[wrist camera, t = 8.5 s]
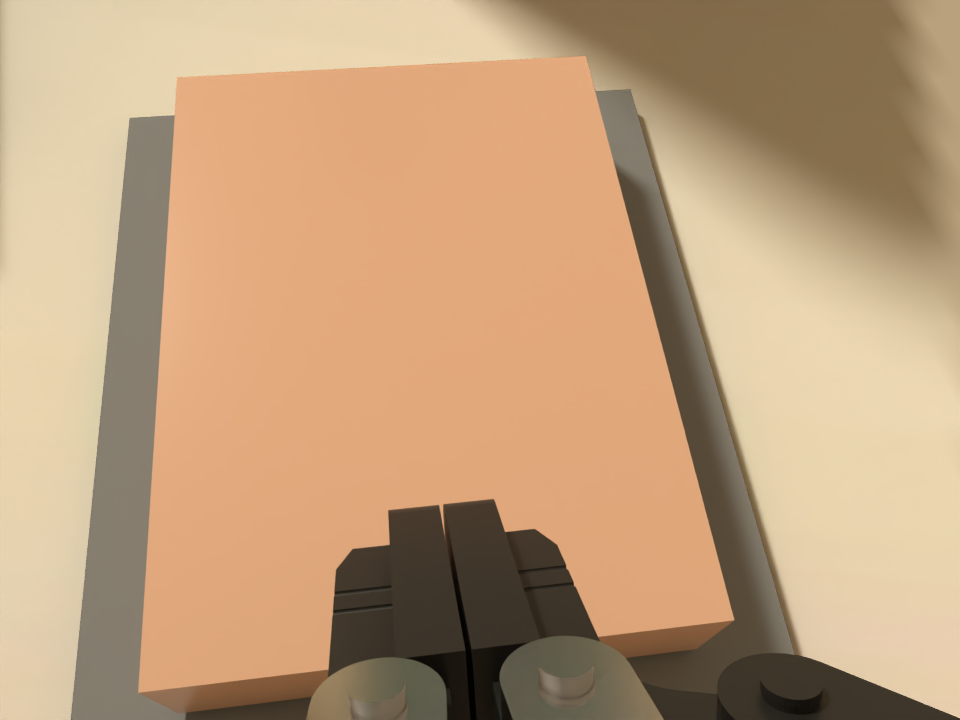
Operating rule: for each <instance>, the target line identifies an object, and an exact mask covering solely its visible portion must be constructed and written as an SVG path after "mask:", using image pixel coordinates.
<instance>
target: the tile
mask: <svg viewBox="0 0 960 720" xmlns="http://www.w3.org/2000/svg"><path fill="white" fill-rule="evenodd" d="M487 499H494V500H495V503H496V506H497V509H498V512H499V515H500V518H501V521H502V524H503V527H504V530H505V532H510V531H519V530H528V529H536V530H537V531H539V532H540V533H541V534H543V535H544V536H546V537H547V538H549V539H550V540H551V541H553V542H554V543H556V544H557V545H558V548H559V550H560V552H561V554H562V557H563V559H564V561H565V563H566V568H567V569H568V570H569V572H570V575H571V577H572V579H573V581H574V587H575V586H576V588H577V591H578V593H579V595H580V597H581V600H582V602H583V604H584V606H585V609H586V611H587V613H588V615H589V618H590V620H591V622H592V624H593V627H594V629H595V631H596V634H597V636H598V638H599V640H600V642H602V643H604V644H606V645H609V646H611V647H612V648H614V649H615V650H617V651H618V652H620V653H621V654H622V655H623V656H624V657H625V658H629V657H637V656H646V655H654V654H662V653H670V652H678V651H686V650H694V649H697V648H699V647H700V646H701V645H703V644H704V643H705V642H707V641H708V640H709V639H710V638H712V637H713V636H714V635H716V634H717V633H718V632H720V631H721V630H722V629H724V628H725V627H726V626H728V625H729V624H730V623H732V622H733V621H734V617H733V613H732V609H731V606H730V602H729V598H728V594H727V590H726V587H725V583H724V579H723V575H722V571H721V568H720V564H719V560H718V556H717V552H716V549H715V545H714V541H713V537H712V533H711V530H710V526H709V522H708V518H707V514H706V511H705V507H704V503H703V499H702V495H701V492H700V488H699V484H698V480H697V476H696V473H695V469H694V465H693V461H692V457H691V454H690V450H689V446H688V442H687V438H686V435H685V431H684V427H683V423H682V420H681V416H680V412H679V408H678V404H677V401H676V397H675V393H674V389H673V385H672V382H671V378H670V374H669V370H668V366H667V363H666V359H665V355H664V351H663V347H662V344H661V340H660V336H659V332H658V328H657V325H656V321H655V317H654V313H653V309H652V306H651V302H650V298H649V294H648V290H647V287H646V283H645V279H644V275H643V271H642V268H641V264H640V260H639V256H638V253H637V249H636V245H635V241H634V237H633V234H632V230H631V226H630V222H629V218H628V215H627V211H626V207H625V203H624V199H623V196H622V192H621V188H620V184H619V180H618V177H617V173H616V169H615V165H614V161H613V158H612V154H611V150H610V146H609V142H608V139H607V135H606V131H605V127H604V123H603V120H602V116H601V112H600V108H599V104H598V101H597V97H596V93H595V89H594V85H593V82H592V78H591V74H590V70H589V67H588V63H587V59H586V56H576V57H557V58H538V59H520V60H501V61H482V62H463V63H444V64H425V65H406V66H387V67H368V68H349V69H330V70H311V71H292V72H273V73H254V74H235V75H217V76H198V77H179V78H177V88H176V104H175V120H174V136H173V151H172V167H171V183H170V199H169V214H168V230H167V246H166V262H165V277H164V293H163V309H162V325H161V340H160V356H159V372H158V388H157V404H156V419H155V435H154V451H153V467H152V482H151V498H150V514H149V530H148V545H147V561H146V577H145V593H144V608H143V624H142V640H141V656H140V671H139V687H138V693H140V694H142V695H143V696H145V697H147V698H149V699H151V700H153V701H155V702H157V703H159V704H161V705H163V706H165V707H167V708H169V709H170V710H172V711H174V712H176V713H178V714H179V713H187V712H195V711H203V710H211V709H219V708H227V707H235V706H243V705H251V704H259V703H268V702H276V701H284V700H292V699H300V698H308V697H312V696H313V694H314V693H315V691H316V690H317V688H318V687H319V686H320V685H321V684H322V683H323V682H324V681H325V680H326V679H327V678H328V669H329V655H330V642H331V629H332V615H333V602H334V596H335V595H334V589H335V575H336V569H337V568H338V566H339V565H340V564H341V563H342V562H343V560H344V559H345V558H346V557H347V555H348V554H349V553H350V552H351V550H352V549H356V548H365V547H375V546H384V545H390V541H389V520H388V510H394V509H404V508H413V507H422V506H432V505H439V507H440V513H441V518H442V524H443V529H444V519H443V504H449V503H459V502H468V501H478V500H487ZM444 535H445V533H444Z"/></svg>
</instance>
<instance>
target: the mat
mask: <svg viewBox="0 0 960 720" xmlns="http://www.w3.org/2000/svg"><path fill="white" fill-rule="evenodd" d="M595 93H596V97H597V101H598V104H599V108H600V112H601V116H602V120H603V123H604V127H605V131H606V135H607V139H608V142H609V146H610V150H611V154H612V158H613V161H614V165H615V169H616V173H617V177H618V180H619V184H620V188H621V192H622V196H623V199H624V203H625V207H626V211H627V215H628V218H629V222H630V226H631V230H632V234H633V237H634V241H635V245H636V249H637V253H638V256H639V260H640V264H641V268H642V271H643V275H644V279H645V283H646V287H647V290H648V294H649V298H650V302H651V306H652V309H653V313H654V317H655V321H656V325H657V328H658V332H659V336H660V340H661V344H662V347H663V351H664V355H665V359H666V363H667V366H668V370H669V374H670V378H671V382H672V385H673V389H674V393H675V397H676V401H677V404H678V408H679V412H680V416H681V420H682V423H683V427H684V431H685V435H686V438H687V442H688V446H689V450H690V454H691V457H692V461H693V465H694V469H695V473H696V476H697V480H698V484H699V488H700V492H701V495H702V499H703V503H704V507H705V511H706V514H707V518H708V522H709V526H710V530H711V533H712V537H713V541H714V545H715V549H716V552H717V556H718V560H719V564H720V568H721V571H722V575H723V579H724V583H725V587H726V590H727V594H728V598H729V602H730V606H731V609H732V613H733V617H734V621H733V622H732V623H730V624H729V625H728V626H726V627H725V628H724V629H722V630H721V631H720V632H718V633H717V634H716V635H714V636H713V637H712V638H710V639H709V640H708V641H707V642H705V643H704V644H703V645H701V646H700V647H699V648H697V649H694V650H686V651H678V652H670V653H662V654H654V655H646V656H637V657H629V658H626V659H627V661H628V662H629V663H630V665H631V666H632V668H633V670H634V671H635V673H636V675H637V676H638V678H639V680H640V681H641V682H644V683H647V684H650V685H653V686H657V687H661V688H665V689H672V690H679V691H690V692H701V693H711V694H717V684H718V679H719V677H720V675H721V673H722V672H723V671H724V669H725V668H726V667H727V666H729V665H730V664H731V663H733V662H735V661H737V660H739V659H741V658H744V657H747V656H750V655H756V654H762V653H785V654H792V655H795V654H794V650H793V647H792V643H791V640H790V636H789V633H788V629H787V626H786V623H785V619H784V616H783V612H782V609H781V605H780V602H779V599H778V595H777V592H776V588H775V585H774V581H773V578H772V575H771V571H770V568H769V564H768V561H767V557H766V554H765V551H764V547H763V544H762V540H761V537H760V533H759V530H758V527H757V523H756V520H755V516H754V513H753V509H752V506H751V502H750V499H749V496H748V492H747V489H746V485H745V482H744V478H743V475H742V472H741V468H740V465H739V461H738V458H737V454H736V451H735V448H734V444H733V441H732V437H731V434H730V430H729V427H728V424H727V420H726V417H725V413H724V410H723V406H722V403H721V399H720V396H719V393H718V389H717V386H716V382H715V379H714V375H713V372H712V369H711V365H710V362H709V358H708V355H707V351H706V348H705V345H704V341H703V338H702V334H701V331H700V327H699V324H698V321H697V317H696V314H695V310H694V307H693V303H692V300H691V297H690V293H689V290H688V286H687V283H686V279H685V276H684V272H683V269H682V266H681V262H680V259H679V255H678V252H677V248H676V245H675V242H674V238H673V235H672V231H671V228H670V224H669V221H668V218H667V214H666V211H665V207H664V204H663V200H662V197H661V194H660V190H659V187H658V183H657V180H656V176H655V173H654V169H653V166H652V163H651V159H650V156H649V152H648V149H647V145H646V142H645V139H644V135H643V132H642V128H641V125H640V121H639V118H638V115H637V111H636V108H635V104H634V101H633V97H632V94H631V91H630V89H629V90H612V91H595ZM174 120H175V115H174V116H156V117H139V118H130V120H129V130H128V140H127V151H126V161H125V171H124V181H123V192H122V202H121V212H120V222H119V232H118V243H117V253H116V263H115V273H114V284H113V294H112V304H111V314H110V324H109V335H108V345H107V355H106V365H105V376H104V386H103V396H102V406H101V416H100V427H99V437H98V447H97V457H96V467H95V478H94V488H93V498H92V508H91V519H90V529H89V539H88V549H87V559H86V570H85V580H84V590H83V600H82V611H81V621H80V631H79V641H78V651H77V662H76V672H75V682H74V692H73V703H72V713H71V720H306V718H307V714H308V709H309V704H310V702H311V699H312V697H308V698H300V699H292V700H284V701H276V702H268V703H259V704H251V705H243V706H235V707H227V708H219V709H211V710H203V711H195V712H187V713H179V714H178V713H176V712H174V711H172V710H170V709H169V708H167V707H165V706H163V705H161V704H159V703H157V702H155V701H153V700H151V699H149V698H147V697H145V696H143V695H142V694H140V693H138V687H139V671H140V656H141V640H142V624H143V608H144V593H145V577H146V561H147V545H148V530H149V514H150V498H151V482H152V467H153V451H154V435H155V419H156V404H157V388H158V372H159V356H160V340H161V325H162V309H163V293H164V277H165V262H166V246H167V230H168V214H169V199H170V183H171V167H172V151H173V136H174Z"/></svg>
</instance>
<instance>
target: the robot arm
mask: <svg viewBox="0 0 960 720" xmlns="http://www.w3.org/2000/svg"><path fill="white" fill-rule="evenodd" d="M443 519H444V529H443V524H442V518H441V513H440V507H439V505H432V506H422V507H413V508H404V509H394V510H388V520H389V541H390V545H384V546H375V547H365V548H356V549H352V550H351V552H350V553H349V554H348V555H347V557H346V558H345V559H344V560H343V562H342V563H341V564H340V565H339V566H338V568H337V569H336V575H335V589H334V595H335V596H334V602H333V615H332V629H331V642H330V655H329V669H328V678H327V679H326V680H325V681H324V682H323V683H322V684H321V685H320V686H319V687H318V688H317V690H316V691H315V693H314V694H313V696H312V699H311V702H310V704H309V709H308V714H307V718H306V720H960V718H957V717H955V716H953V715H950V714H948V713H945V712H943V711H940V710H938V709H935V708H933V707H930V706H928V705H925V704H923V703H920V702H918V701H915V700H913V699H911V698H908V697H906V696H903V695H901V694H898V693H896V692H893V691H891V690H888V689H886V688H883V687H881V686H878V685H876V684H874V683H871V682H869V681H866V680H864V679H861V678H859V677H856V676H854V675H851V674H849V673H846V672H844V671H841V670H839V669H836V668H834V667H832V666H829V665H827V664H824V663H822V662H819V661H816V660H813V659H810V658H806V657H802V656H798V655H792V654H785V653H762V654H756V655H750V656H747V657H744V658H741V659H739V660H737V661H735V662H733V663H731V664H730V665H729V666H727V667H726V668H725V669H724V671H723V672H722V673H721V675H720V677H719V679H718V684H717V694H711V693H701V692H690V691H679V690H672V689H665V688H661V687H657V686H653V685H650V684H647V683H644V682H641V681H640V680H639V678H638V676H637V675H636V673H635V671H634V670H633V668H632V666H631V665H630V663H629V662H628V661H627V659H626V658H625V657H624V656H623V655H622V654H621V653H620V652H618V651H617V650H615V649H614V648H612V647H611V646H609V645H606V644H604V643H602V642H600V640H599V638H598V636H597V634H596V631H595V629H594V627H593V624H592V622H591V620H590V618H589V615H588V613H587V611H586V609H585V606H584V604H583V602H582V600H581V597H580V595H579V593H578V591H577V588H576V586H575V587H574V581H573V579H572V577H571V575H570V572H569V570H568V569H567V568H566V563H565V561H564V559H563V557H562V554H561V552H560V550H559V548H558V545H557V544H556V543H554V542H553V541H551V540H550V539H549V538H547V537H546V536H544V535H543V534H541V533H540V532H539V531H537V530H536V529H528V530H519V531H510V532H505V530H504V527H503V524H502V521H501V518H500V515H499V512H498V509H497V506H496V503H495V500H494V499H487V500H478V501H468V502H459V503H449V504H443ZM444 533H445V535H444Z"/></svg>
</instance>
